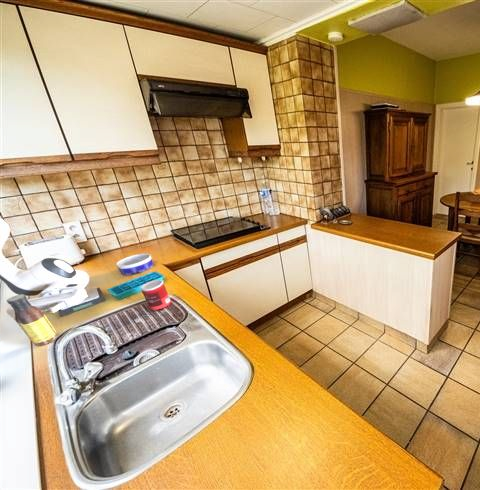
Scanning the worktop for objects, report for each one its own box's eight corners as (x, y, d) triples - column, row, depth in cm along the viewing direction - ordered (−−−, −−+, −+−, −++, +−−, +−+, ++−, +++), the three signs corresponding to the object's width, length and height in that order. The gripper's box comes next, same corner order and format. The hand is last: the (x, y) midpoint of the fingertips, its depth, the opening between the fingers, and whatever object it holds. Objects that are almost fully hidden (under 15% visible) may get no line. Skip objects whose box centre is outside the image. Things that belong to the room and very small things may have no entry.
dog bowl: (159, 266, 153) (155, 256, 151) (126, 278, 141) (121, 268, 139) (147, 260, 161) (143, 251, 158) (116, 271, 149) (111, 262, 147)
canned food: (168, 298, 121) (159, 277, 117) (174, 304, 117) (165, 283, 112) (148, 306, 116) (138, 285, 112) (153, 313, 111) (143, 291, 107)
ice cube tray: (109, 294, 127) (106, 289, 126) (157, 275, 142) (155, 270, 141) (117, 301, 121) (115, 296, 120) (167, 281, 136) (164, 276, 135)
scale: (61, 316, 112) (57, 311, 111) (60, 305, 121) (57, 299, 119) (105, 301, 122) (102, 295, 121) (101, 291, 130) (98, 286, 129)
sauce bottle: (41, 338, 101) (10, 294, 93) (63, 332, 103) (34, 289, 95) (30, 349, 95) (-4, 304, 87) (53, 343, 98) (22, 299, 89)
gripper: (19, 295, 103) (-12, 315, 91) (85, 282, 110) (65, 300, 98) (28, 308, 106) (-1, 330, 94) (92, 295, 112) (73, 314, 101)
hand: (33, 314), depth 96 cm, fingers open, 8 cm apart
